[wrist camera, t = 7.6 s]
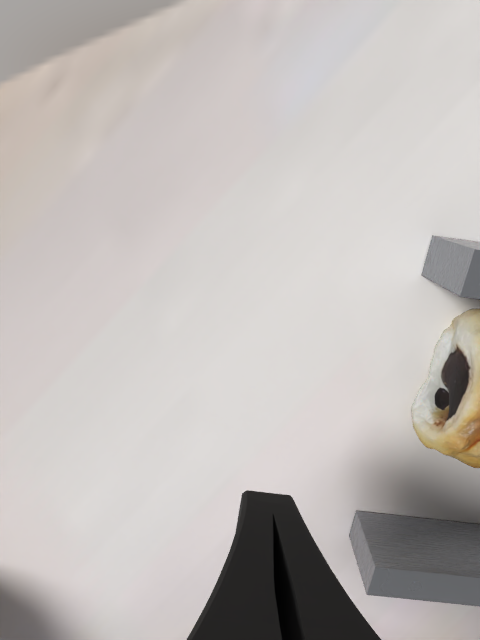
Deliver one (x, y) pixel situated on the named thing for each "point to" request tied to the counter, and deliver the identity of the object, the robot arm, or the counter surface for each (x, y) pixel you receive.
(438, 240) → the grey tray
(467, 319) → the pastry
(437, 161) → the counter surface
